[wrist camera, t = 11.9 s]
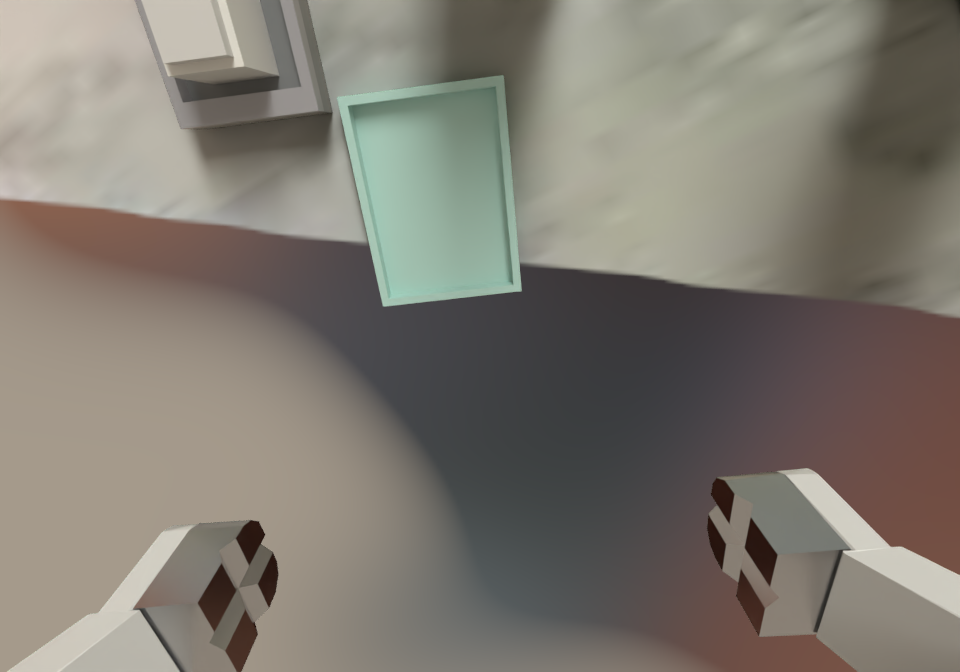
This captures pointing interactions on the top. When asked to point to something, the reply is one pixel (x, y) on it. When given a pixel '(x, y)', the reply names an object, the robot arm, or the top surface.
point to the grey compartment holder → (257, 98)
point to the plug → (212, 39)
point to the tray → (435, 189)
